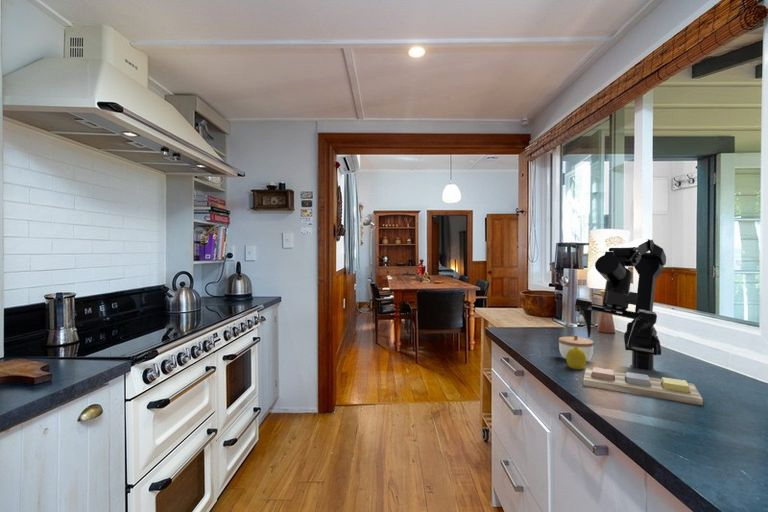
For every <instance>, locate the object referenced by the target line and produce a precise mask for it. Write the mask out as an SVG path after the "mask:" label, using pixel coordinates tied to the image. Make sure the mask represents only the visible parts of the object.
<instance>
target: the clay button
mask: <svg viewBox="0 0 768 512" xmlns="http://www.w3.org/2000/svg"><path fill="white" fill-rule="evenodd" d="M592 369H593V371H592V377H593V378H599V379H605V380H612V381H614V372H615V371H614V369H609V368H601V367H595V366H593V367H592Z"/></svg>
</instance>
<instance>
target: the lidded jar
mask: <svg viewBox="0 0 768 512" xmlns="http://www.w3.org/2000/svg"><path fill="white" fill-rule="evenodd" d="M594 345H595V343H594V341H593V340H592V339H589V338H585V337H580V336H578V335H577V334H574V335H573V336H560V337H558V347H559V348H558V350H559V353H560V355H561V357H562V358H563V359H565V360H566V357H567V353H568V351H569V350H570V349H572V348H575V347H578V348H579V349H581V350H582V351H583V352H584V354H585V356H586V362H589V361H590V359H591V358H592V357H593V352H594Z"/></svg>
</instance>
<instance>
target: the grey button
mask: <svg viewBox="0 0 768 512" xmlns="http://www.w3.org/2000/svg"><path fill="white" fill-rule="evenodd" d="M625 374H626V382H625V383H631V384H637V385H643V386H649V387H650V379H649V377H650V376H649V375H648V374H643V373H637V372H629V371H626V372H625Z"/></svg>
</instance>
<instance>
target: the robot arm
mask: <svg viewBox="0 0 768 512" xmlns="http://www.w3.org/2000/svg"><path fill="white" fill-rule="evenodd" d="M666 263H667V256H666V253H665V250H664V248H662V247H661V246H659V245H658V244H656V243H655V242H654V240H653V239H652V238H636V239H632V241H631V242H629V243H628V244H625V245H623V246H620V245H619V246H610V247H609V248H608V250H607V251H606V250H605V252H604V254H603V255H601V256H600V257H598V258H597V260H596V261H595V263H594V267H595V269H596V271H597V272H598V273H599V274H600V275H601V277H603V279H605V280H606V282H605V287H604V294H603V298H602V303H601V304H600V305H599V304H595V303H593V299H589V298H584V297H577V298H576V299H575V304H574V311H575V312H578V314H579V315H580V316H582V317H583V320H584V324H585V328H586V332H587V334H586V335H587V339H589V338H591V334H592V333H591V332H592V312H597V313H603V314H606V315H607V314H609V315H611V316H617V317H622V318H628V319H632V320H631V321H628V323H627V325H626V331H624V335H623V339H624V340H623V341H624V342H623V343H624V348H625V349H624V350H625V351H631V364H630V365H629V367H630V368H631V369H637V370H643V371H644V370H645V371H654V372H655V371H656V369H655V368H654V366H655V365H654V359H655V357H654V356H662V345H661V342H660V339H659V336H658V334H657V333H658V331H657V329H656V328H655V326H654V325H655V324H656V323H657V317H658V314H657V313H656V312H655V311H653V310H654V302H655V301H654V300H655V293H656V292H655V291H656V281H657V278H658V277H659V276H660V275H661V274H662V273H663V272H664V266H665V265H666ZM627 267H633V268H634V269H635V271H636V273H637V275H638V282H637V291H636V292H634V291H630V290H631V289H630V288H631V284H632V283H631V282H632V279H633V273H632V272H631V270H629V269H628V268H627ZM629 305H633V306H635V309H634V311H631V310H628V308H629Z"/></svg>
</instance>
